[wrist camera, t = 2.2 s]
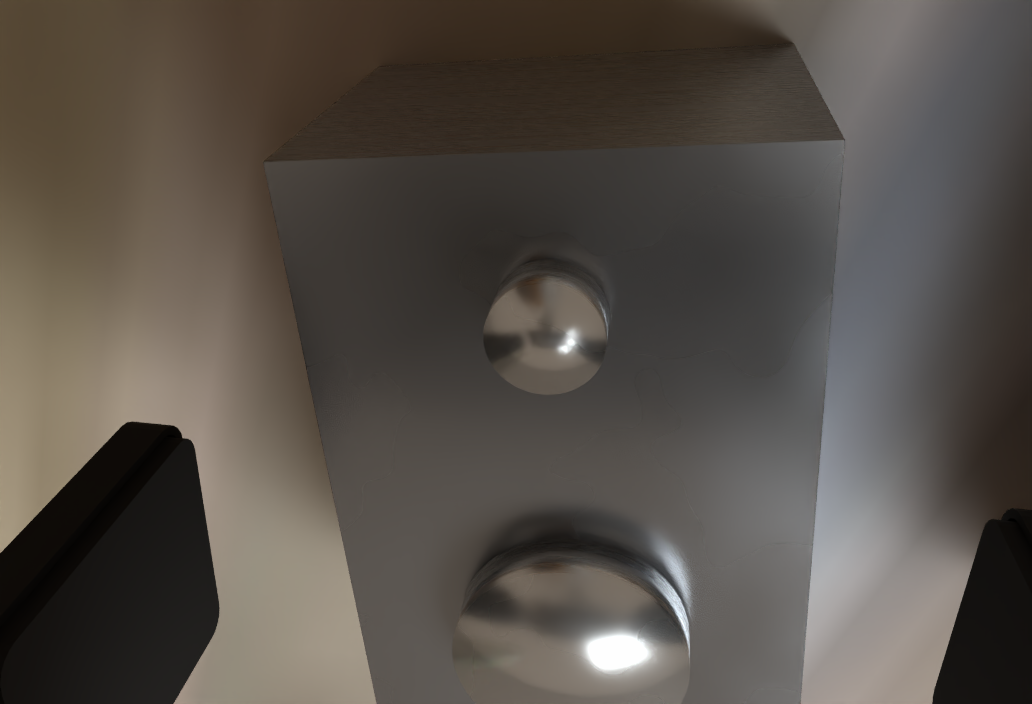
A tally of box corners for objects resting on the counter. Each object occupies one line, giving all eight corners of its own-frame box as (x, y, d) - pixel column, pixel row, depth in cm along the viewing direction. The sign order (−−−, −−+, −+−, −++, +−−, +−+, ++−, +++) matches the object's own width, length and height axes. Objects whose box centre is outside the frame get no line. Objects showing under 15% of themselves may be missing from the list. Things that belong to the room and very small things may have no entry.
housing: (382, 63, 13) (240, 181, 9) (792, 40, 13) (856, 159, 8) (454, 566, 18) (381, 814, 13) (765, 576, 17) (797, 847, 12)
